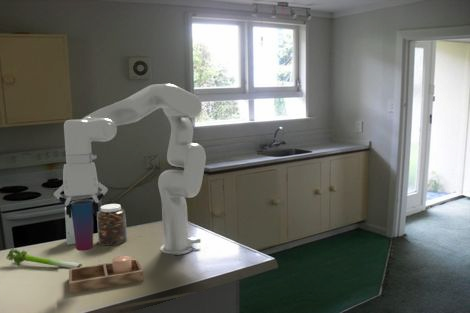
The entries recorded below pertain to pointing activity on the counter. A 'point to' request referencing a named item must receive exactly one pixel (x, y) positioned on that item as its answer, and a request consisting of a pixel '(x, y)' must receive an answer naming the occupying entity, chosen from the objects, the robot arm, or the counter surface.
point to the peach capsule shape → (122, 265)
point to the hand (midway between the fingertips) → (82, 215)
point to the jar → (111, 225)
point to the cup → (83, 223)
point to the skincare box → (69, 229)
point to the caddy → (102, 276)
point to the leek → (38, 259)
